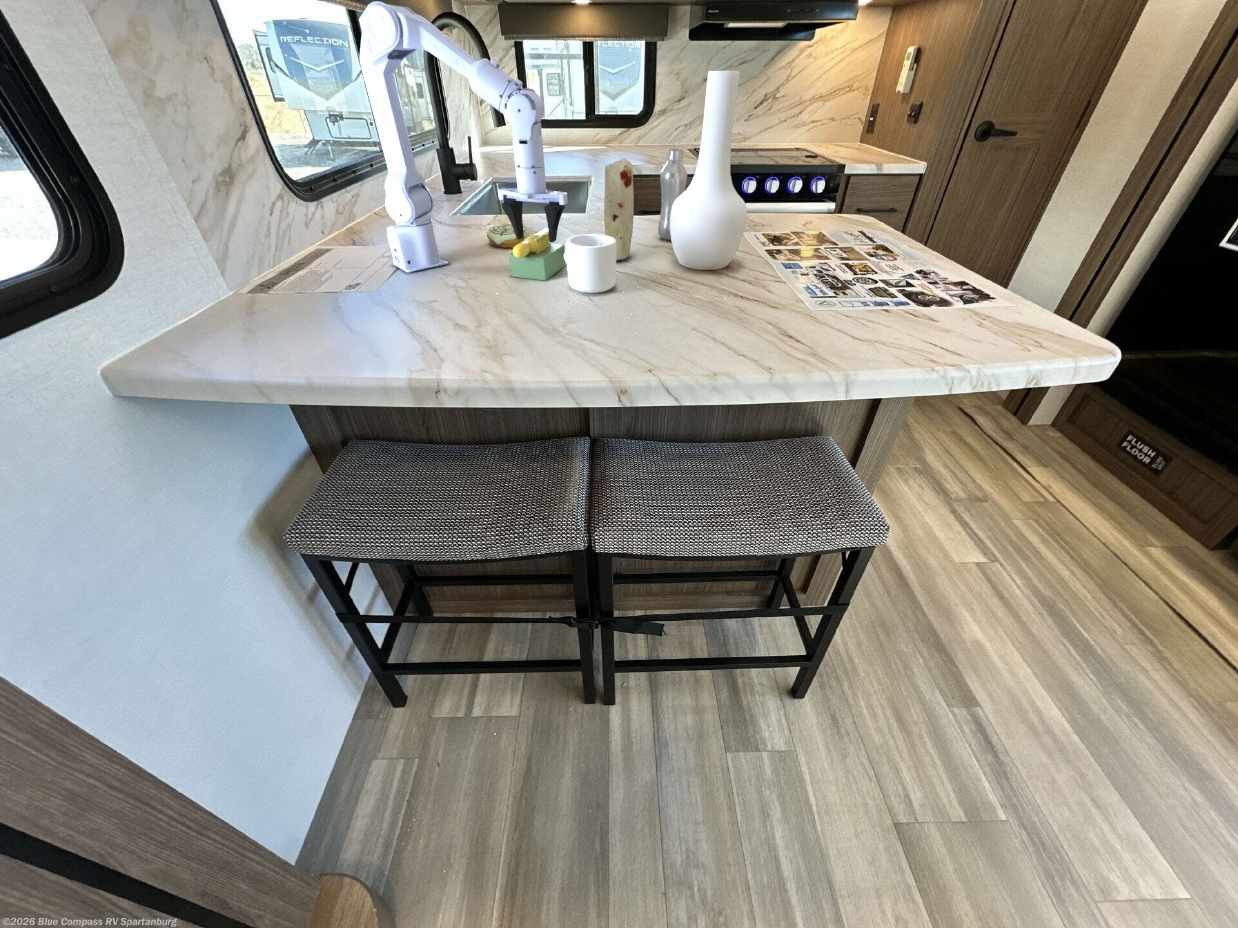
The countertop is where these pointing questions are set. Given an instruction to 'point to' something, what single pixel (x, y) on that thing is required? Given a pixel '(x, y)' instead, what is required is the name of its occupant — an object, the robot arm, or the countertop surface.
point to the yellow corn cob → (532, 244)
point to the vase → (711, 187)
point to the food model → (619, 205)
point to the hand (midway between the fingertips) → (536, 239)
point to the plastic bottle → (671, 188)
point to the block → (538, 263)
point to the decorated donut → (505, 236)
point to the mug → (591, 262)
